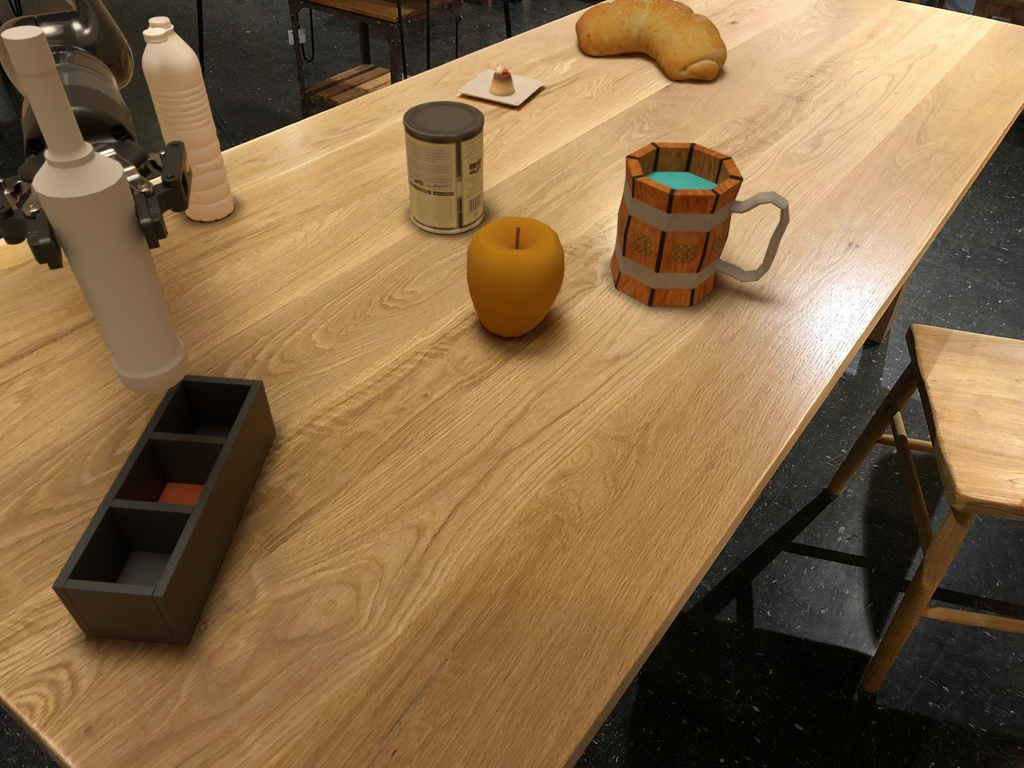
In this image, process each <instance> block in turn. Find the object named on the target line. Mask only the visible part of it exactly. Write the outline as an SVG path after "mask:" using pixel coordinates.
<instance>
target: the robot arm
mask: <svg viewBox="0 0 1024 768" xmlns="http://www.w3.org/2000/svg"><path fill="white" fill-rule="evenodd" d="M64 1H65V2H66V3H68V4H69V5H70V6H71V7H72V9H70V10H61V11H55V12H46V13H39V14H36V15H35V14H29V15H23V16H17V17H14V18H11V19H9V20H7V21H5V23H3V24H2V25H1V26H0V64H1V66H2V69H3V70H4V72H5V74H6V76H7V77H8V79H9V80H10V82H11V83H12V85H13V86H14V87H15V89H16V90H17V91H18V92H19V93H20V94H21V96H22V97H23V101H22V109H21V117H20V125H21V131H22V135H23V148H24V149H23V150H24V159H25V161H24V163H22V164H21V166H20V167H19V168H18V170H17V175H15V176H11V177H7V178H2V177H0V235H1V237H2V238H3V240H4V242H5V243H6V244H7V245H9V246H15V245H20V244H22V243H24V242H25V241H26V243H27V245H28V247H29V249H30V251H31V254H32V255H33V258H34V260H35V262H36V263H38V264H39V265H41V266H42V265H44V264H45V265H46V264H47V266H48V269H49V270H50V271H53V270H54V271H55V270H60V269H64V260H63V250H62V247H61V245H60V243H59V241H58V239H57V237H56V235H55V232H54V230H53V228H52V226H51V224H50V222H49V220H48V218H47V215H46V213H45V211H44V209H43V207H42V205H41V203H40V201H39V198H38V196H37V194H36V192H35V190H34V188H33V186H32V183H33V180H34V177H35V175H36V174H37V173H38V171H39V170H40V168H41V167H42V166H43V164H44V163H45V162H46V158H45V156H44V154H45V151H46V150H47V149H48V146H47V144H46V141H45V139H44V136H43V134H42V132H41V129H40V127H39V124H38V122H37V119H36V117H35V114H34V112H33V110H32V107H31V105H30V102H29V100H28V97H27V95H26V92H25V90H24V87H23V85H22V83H21V80H20V78H19V75H18V73H17V72H16V71H15V68H14V66H13V64H12V61H11V59H10V56H9V54H8V51H7V49H6V47H5V44H4V42H3V39H2V37H1V34H2V32H4V31H5V30H7V29H11V28H14V27H20V26H37V27H40V28H42V29H43V31H44V34H45V37H46V39H47V42H48V45H49V47H50V50H51V53H52V55H53V58H54V61H55V63H56V69H57V72H58V74H59V77H60V79H61V82H62V85H63V87H64V90H65V93H66V95H67V98H68V101H69V103H70V106H71V108H72V111H73V114H74V116H75V119H76V122H77V124H78V127H79V130H80V132H81V135H82V137H83V140H84V142H87V143H90V144H91V145H92V147H93V149H94V151H95V152H97V153H100V154H102V155H104V156H107V157H109V158H111V159H113V160H116V161H118V162H119V163H120V164H121V166H122V167H123V168H124V171H125V174H126V177H127V180H128V183H129V186H130V190H131V193H132V196H133V199H134V202H135V206H136V210H137V214H138V218H139V221H140V225H141V228H142V231H143V233H144V236H145V239H146V242H147V245H148V248H149V250H150V251H151V250H155V249H160V248H161V244H160V241H161V240H165V239H167V238H168V236H169V231H168V228H167V225H166V222H165V221H166V220H165V218H164V214H165V213H166V212H168V211H171V212H172V213H183V212H185V210H187V209H188V207H189V199H190V191H191V182H192V170H191V167H190V163H189V159H188V156H187V152H186V149H185V145H184V142H182V141H172V142H169V143H168V144H167V145H166V144H165V150H160V151H158V152H151V153H149V152H148V151H147V149H146V148H145V147H144V146H141V145H140V144H139V140H138V136H137V133H136V131H135V127H134V124H133V120H132V113H131V111H130V110H129V108H128V106H127V104H126V103H125V101H124V99H123V97H122V93H121V90H122V89H124V88H126V87H127V86H128V85H129V83H131V80H132V78H133V74H134V67H135V65H134V64H135V63H134V56H133V53H132V50H131V46H130V45H129V42H128V40H127V39H126V37H125V35H124V34H123V31H122V30H121V29H120V27H119V26H118V24H117V23H116V21H115V20H114V18H113V16H112V15H111V13H110V12H109V10H108V9H107V7H106V6H105V4H104V3H103V1H102V0H64ZM154 172H158V173H159V175H160V180H161V182H158V183H155V184H153V182H151V181H150V180H149V179H150V178H151V176H152V175H153V173H154ZM25 194H27V195H28V198H27V199H26V200H25V201H24V203H23V204H22V206H21V208H18V206H17V205H16V204H17V203H19V202H20V197H21V196H23V195H25Z"/></svg>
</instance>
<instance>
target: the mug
mask: <svg viewBox="0 0 1024 768" xmlns="http://www.w3.org/2000/svg"><path fill="white" fill-rule="evenodd" d="M743 182H744V177H743V175H742V173H741V172H740V169H739V168H738V166H737V164H736V162H735V160H734V159H733V157H731V156H729V155H726V154H724V153H721V152H719V151H716V150H714V149H711V148H709V147H706V146H703V145H701V144H698V143H695V142H658V141H657V142H655V141H654V142H653V141H651V142H650V143H648V144H646V145H644V146H642V147H639V148H638V149H637V150H634V151H633V152H631V153H629V154H627V155H626V156H625V178H624V185H623V191H622V196H621V199H620V204H619V208H618V211H617V223H616V236H615V244H614V248H613V249H614V250H613V253H612V255H611V260H610V263H609V266H610V270H611V275H612V279H613V283H614V288H615V289H616V290H618V291H620V292H622V293H624V294H625V295H627V296H629V297H631V298H633V299H635V300H637V301H639V302H640V303H642V304H644V305H646V306H648V307H693V306H694V305H696V304H697V303H698V302H700V301H701V300H702V299H704V298H705V297H706V296H707V295H709V294H710V293H711V292H712V291H713V290H715V288H716V287H715V286H716V280H717V272H718V273H720V274H723V275H725V276H728V277H730V278H733V280H737V281H739V282H740V283H752V282H753V283H754V282H758V281H760V280H761V279H762V278H763V276H765V275H766V274H767V273H768V272H769V270H770V269H771V267H772V265H773V262H774V260H775V258H776V256H777V254H778V249H779V246H780V244H781V241H782V239H783V236H784V234H785V233H786V231H787V228H788V226H789V224H790V221H791V218H790V217H791V216H790V205H789V200H788V199H787V198H785V196H782V195H781V194H779V193H777V191H775V190H774V191H773V190H771V191H763V192H757V193H756V194H754V195H752V196H751V197H749V198H747V199H745V200H737V197H738V194H739V192H740V189H741V187H742V185H743ZM768 204H771V205H773V206H775V207H776V208H778V209H780V214H779V222H778V223H777V225H776V227H775V229H774V231H773V233H772V235H771V236H770V238H769V242H768V245H767V248H766V251H765V254H764V257H763V260H762V263H761V264H760V265H759V266H758V267H757V268H756V269H750V270H745V269H743V268H741V267H739V266H738V265H736V264H734V263H731V262H728V261H726V260H723V259H721V256H722V254H723V251H724V248H725V246H726V244H727V241H728V238H729V234H730V228H731V227H730V226H731V220H732V215H733V214H741V215H743V214H745V213H748V212H750V211H752V210H754V209H755V208H758V206H761V205H768Z"/></svg>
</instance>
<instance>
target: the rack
mask: <svg viewBox="0 0 1024 768" xmlns="http://www.w3.org/2000/svg"><path fill="white" fill-rule="evenodd" d="M276 434H277V430H276V427H275V423H274V418H273V415H272V411H271V408H270V403H269V400H268V396H267V392H266V388H265V384H264V381H263V380H262V379H261V380H260V379H250V378H236V377H222V376H210V375H198V374H185V376H184V378H183V379H182V380H181V381H180V382H178V383H177V384H176V385H174V386H173V387H171V388H168V389H167V390H166V391H165V394H164V395H163V397H162V399H161V400H160V403H159V404H158V406H157V408H156V409H155V411H154V412H153V414H152V416H151V418H150V419H149V421H148V423H147V424H146V426H145V428H144V429H143V431H142V432H141V434H140V436H139V438H138V440H137V441H136V443H135V444H134V447H133V448H132V450H131V451H130V453H129V455H128V457H127V458H126V460H125V462H124V464H123V465H122V467H121V469H120V470H119V472H118V473H117V475H116V478H114V480H113V482H112V484H111V485H110V488H109V489H108V490H107V492H106V494H105V495H104V497H103V499H102V500H101V502H100V504H99V506H98V508H97V509H96V511H95V513H94V514H93V515H92V518H90V521H89V523H88V524H87V526H86V527H85V529H84V531H83V533H82V535H81V536H80V538H79V540H78V541H77V543H76V545H75V546H74V548H73V550H72V552H71V553H70V555H69V557H68V558H67V560H66V562H65V564H64V565H63V567H62V569H61V571H60V572H59V574H58V575H57V576H56V579H55V580H54V582H53V584H52V586H51V589H52V590H53V591H54V593H55V594H56V596H57V597H58V599H59V601H60V602H61V603H62V605H64V607H65V609H66V611H67V612H68V613H69V614H70V616H71V617H72V618H73V620H74V622H75V623H76V625H77V626H78V627H79V629H80V630H81V632H82V633H83V635H84V636H86V637H91V638H92V637H93V638H104V639H116V640H127V641H137V642H138V641H139V642H149V643H159V644H160V643H161V644H172V645H180V646H181V645H182V646H188V645H189V643H190V641H191V638H192V635H193V633H194V631H195V628H196V626H197V624H198V621H199V619H200V616H201V614H202V611H203V609H204V607H205V604H206V602H207V599H208V598H209V594H210V592H211V590H212V587H213V585H214V583H215V580H216V578H217V575H218V573H219V571H220V568H221V566H222V563H223V561H224V559H225V556H226V554H227V552H228V549H229V546H230V544H231V542H232V539H233V536H234V535H235V532H236V530H237V527H238V525H239V522H240V520H241V518H242V515H243V513H244V511H245V508H246V506H247V503H248V500H249V498H250V496H251V494H252V491H253V489H254V486H255V484H256V481H257V479H258V476H259V475H260V472H261V469H262V467H263V465H264V463H265V460H266V457H267V455H268V453H269V450H270V448H271V445H272V444H273V441H274V438H275V436H276Z"/></svg>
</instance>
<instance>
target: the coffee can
mask: <svg viewBox="0 0 1024 768" xmlns="http://www.w3.org/2000/svg"><path fill="white" fill-rule="evenodd" d="M402 124H403V128H404V141H405V153H406V167H407V181H408V182H407V183H408V193H409V194H408V195H409V206H410V207H409V208H410V213H409V217H410V220H411V221H412V223H413V224H414V225H415V226H416V227H418V229H421V230H423V231H425V232H429V233H433V234H438V235H455V234H456V235H457V234H460V233H461V234H462V233H465V232H468V231H471V230H472V229H474V228H476V227H477V226H479V225H480V224H481V222H482V221H483V219H484V215H485V213H484V156H485V155H484V126H485V115H484V113H483V112H482V111H481V110H480V109H479V108H477V107H475V106H473V105H471V104H468V103H465V102H459V101H453V100H435V101H428V102H423V103H420V104H416V105H413V106H412V107H410V108H409V109H408V110H406V111H405V112H404V114H403V116H402Z"/></svg>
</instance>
